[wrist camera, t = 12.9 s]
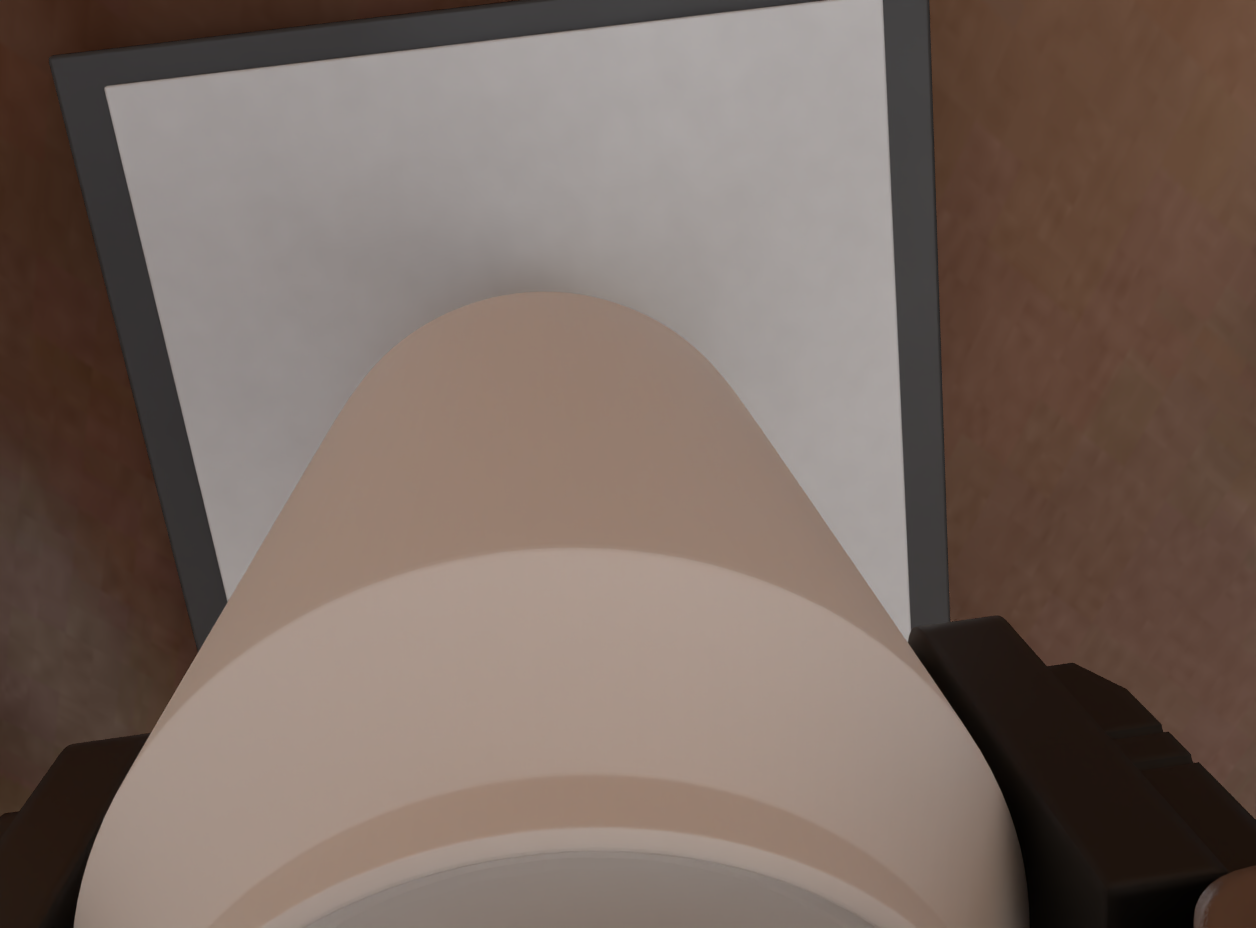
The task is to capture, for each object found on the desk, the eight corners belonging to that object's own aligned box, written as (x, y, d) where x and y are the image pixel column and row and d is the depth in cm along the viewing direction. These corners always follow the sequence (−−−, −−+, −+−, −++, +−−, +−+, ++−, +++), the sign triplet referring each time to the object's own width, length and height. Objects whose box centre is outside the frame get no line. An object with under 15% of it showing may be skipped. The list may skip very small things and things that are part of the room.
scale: (273, 797, 27) (242, 881, 24) (96, 58, 22) (30, 55, 19) (920, 705, 28) (965, 777, 25) (888, -35, 23) (940, -53, 20)
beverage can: (836, 424, 17) (1412, 1053, 6) (607, 744, 19) (729, 1756, 7) (473, 190, 16) (335, 438, 5) (252, 554, 17) (-275, 1442, 6)
